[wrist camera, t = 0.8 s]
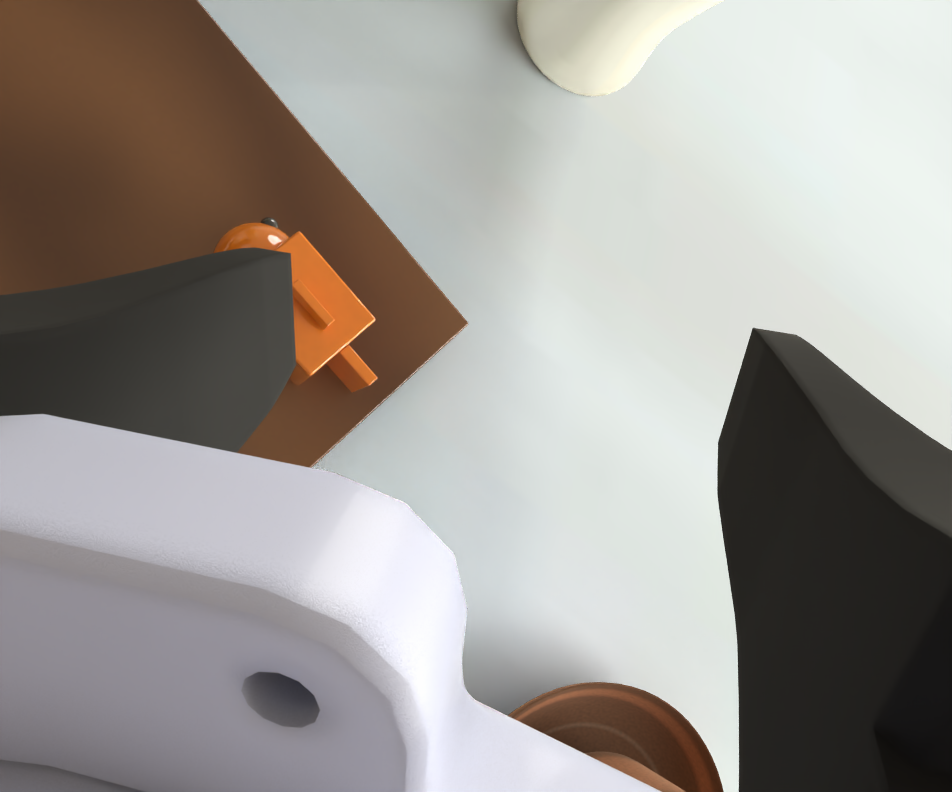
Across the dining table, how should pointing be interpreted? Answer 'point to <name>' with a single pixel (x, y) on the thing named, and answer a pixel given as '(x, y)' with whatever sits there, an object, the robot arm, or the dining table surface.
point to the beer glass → (598, 38)
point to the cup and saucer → (626, 734)
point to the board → (190, 186)
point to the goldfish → (313, 305)
